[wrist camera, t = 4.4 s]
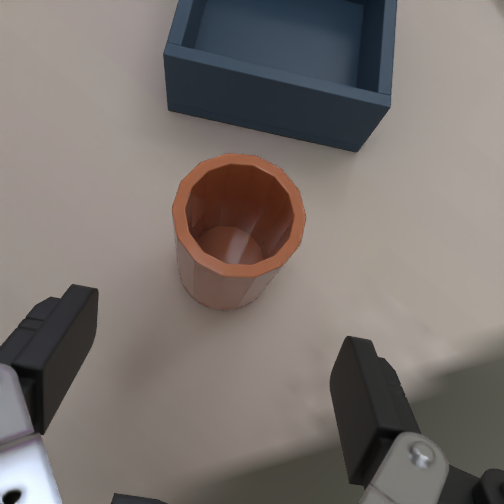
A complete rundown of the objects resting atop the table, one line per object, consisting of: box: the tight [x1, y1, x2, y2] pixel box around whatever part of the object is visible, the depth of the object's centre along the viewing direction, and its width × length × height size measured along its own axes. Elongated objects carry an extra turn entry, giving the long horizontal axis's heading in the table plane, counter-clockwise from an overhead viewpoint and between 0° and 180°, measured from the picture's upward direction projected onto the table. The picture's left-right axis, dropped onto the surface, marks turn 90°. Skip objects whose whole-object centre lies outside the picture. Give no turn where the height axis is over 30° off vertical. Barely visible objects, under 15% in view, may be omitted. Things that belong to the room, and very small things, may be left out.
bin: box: [163, 0, 397, 152], centre depth 26 cm, size 13×13×5 cm
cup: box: [172, 153, 306, 311], centre depth 20 cm, size 5×5×8 cm
